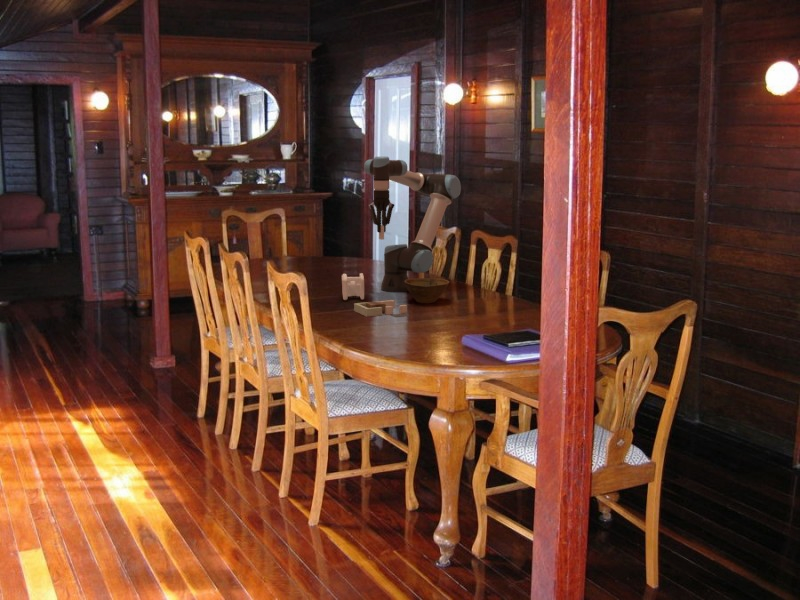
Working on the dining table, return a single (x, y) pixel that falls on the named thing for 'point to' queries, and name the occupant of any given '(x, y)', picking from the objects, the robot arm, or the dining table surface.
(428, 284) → the bowl
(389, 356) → the dining table surface
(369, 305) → the block
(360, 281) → the cable organizer
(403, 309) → the channel
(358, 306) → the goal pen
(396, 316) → the mat
